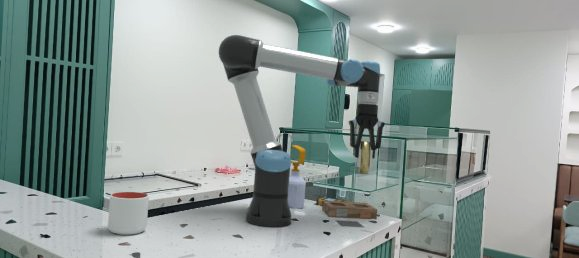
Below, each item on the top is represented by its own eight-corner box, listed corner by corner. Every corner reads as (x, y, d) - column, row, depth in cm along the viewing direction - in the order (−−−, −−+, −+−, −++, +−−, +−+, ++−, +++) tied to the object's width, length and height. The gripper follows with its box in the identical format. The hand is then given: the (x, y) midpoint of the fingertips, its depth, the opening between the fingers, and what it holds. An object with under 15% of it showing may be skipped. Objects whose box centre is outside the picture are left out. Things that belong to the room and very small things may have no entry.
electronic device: (350, 213, 163) (350, 205, 163) (315, 206, 172) (316, 198, 172) (358, 210, 171) (359, 202, 170) (324, 203, 179) (325, 195, 179)
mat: (341, 227, 137) (341, 226, 137) (335, 221, 145) (335, 220, 145) (364, 228, 138) (364, 227, 138) (357, 222, 146) (357, 221, 146)
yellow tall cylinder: (360, 174, 151) (362, 141, 151) (357, 172, 154) (359, 140, 154) (369, 174, 151) (371, 141, 151) (367, 173, 155) (368, 141, 155)
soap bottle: (289, 203, 171) (294, 144, 171) (308, 207, 166) (313, 146, 166) (276, 205, 164) (281, 144, 164) (295, 210, 159) (300, 146, 158)
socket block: (376, 220, 152) (377, 209, 152) (329, 218, 150) (330, 207, 149) (366, 212, 164) (366, 202, 164) (322, 210, 162) (322, 200, 162)
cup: (108, 237, 107) (111, 199, 107) (106, 227, 116) (109, 191, 116) (148, 235, 112) (151, 198, 112) (143, 225, 121) (146, 191, 121)
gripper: (348, 102, 148) (344, 167, 148) (392, 104, 149) (389, 169, 150) (343, 103, 155) (339, 164, 156) (386, 105, 157) (382, 166, 157)
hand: (363, 166), depth 153 cm, fingers closed on yellow tall cylinder, 3 cm apart
